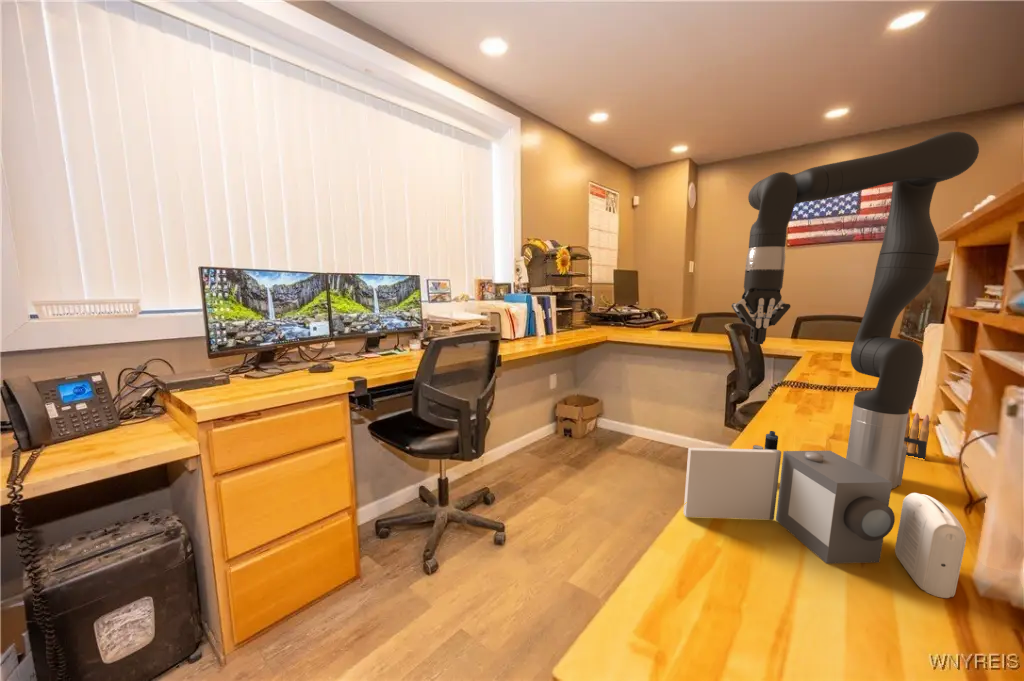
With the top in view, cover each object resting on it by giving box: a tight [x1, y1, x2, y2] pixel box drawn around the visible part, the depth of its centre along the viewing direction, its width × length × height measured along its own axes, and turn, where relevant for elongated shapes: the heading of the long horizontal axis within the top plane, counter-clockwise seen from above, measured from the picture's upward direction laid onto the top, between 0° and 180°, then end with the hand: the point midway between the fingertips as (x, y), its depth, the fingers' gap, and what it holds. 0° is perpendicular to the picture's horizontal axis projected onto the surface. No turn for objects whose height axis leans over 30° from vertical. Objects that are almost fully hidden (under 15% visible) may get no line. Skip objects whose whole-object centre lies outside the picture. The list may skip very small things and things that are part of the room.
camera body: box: [775, 450, 896, 564], centre depth 70 cm, size 9×14×15 cm, turn 2°
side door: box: [683, 447, 782, 521], centre depth 77 cm, size 2×17×14 cm, turn 87°
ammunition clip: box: [904, 411, 930, 460], centre depth 108 cm, size 11×2×12 cm, turn 41°
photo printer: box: [894, 492, 967, 599], centre depth 62 cm, size 10×4×12 cm, turn 156°
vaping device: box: [752, 430, 779, 450], centre depth 92 cm, size 3×5×12 cm, turn 78°
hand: (757, 343), depth 94 cm, fingers closed
